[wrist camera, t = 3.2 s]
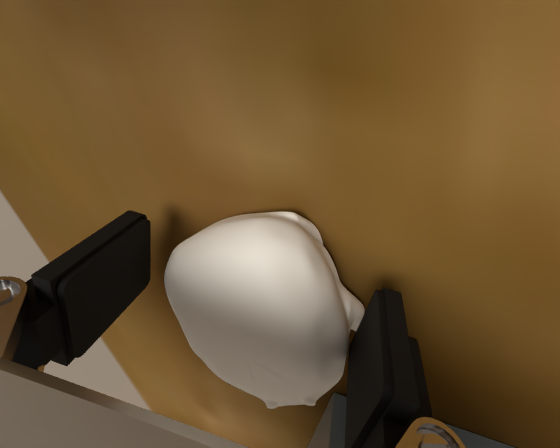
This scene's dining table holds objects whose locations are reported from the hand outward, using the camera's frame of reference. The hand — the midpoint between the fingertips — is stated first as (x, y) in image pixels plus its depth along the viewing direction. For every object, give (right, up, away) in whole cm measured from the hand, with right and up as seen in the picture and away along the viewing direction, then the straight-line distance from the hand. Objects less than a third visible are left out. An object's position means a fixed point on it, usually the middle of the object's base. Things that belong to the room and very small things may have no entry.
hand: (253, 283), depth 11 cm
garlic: (+1, -1, +2) cm, 3 cm away
